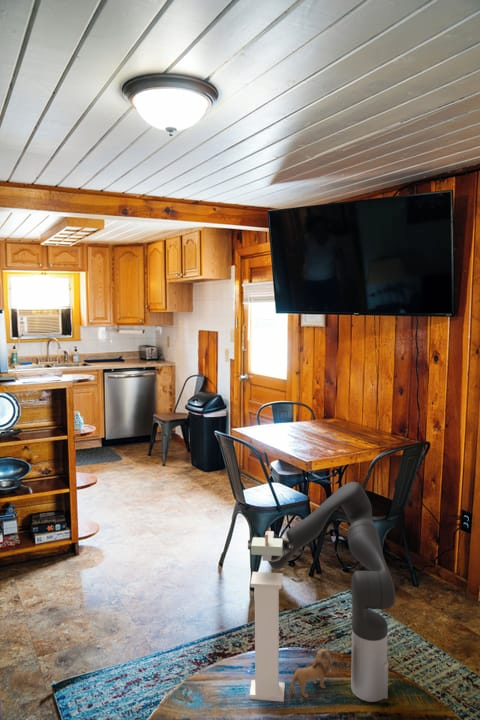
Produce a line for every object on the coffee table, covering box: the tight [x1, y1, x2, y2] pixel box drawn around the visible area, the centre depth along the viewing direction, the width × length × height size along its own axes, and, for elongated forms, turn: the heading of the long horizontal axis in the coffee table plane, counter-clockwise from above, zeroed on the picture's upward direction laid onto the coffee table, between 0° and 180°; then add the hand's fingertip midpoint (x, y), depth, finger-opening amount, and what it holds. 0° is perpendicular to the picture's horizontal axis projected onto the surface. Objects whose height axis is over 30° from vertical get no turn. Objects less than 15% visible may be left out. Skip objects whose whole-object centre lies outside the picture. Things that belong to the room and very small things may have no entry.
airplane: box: [250, 530, 284, 562], centre depth 149 cm, size 8×14×7 cm, turn 173°
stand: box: [249, 571, 286, 703], centre depth 144 cm, size 9×6×32 cm, turn 83°
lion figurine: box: [288, 647, 332, 701], centre depth 147 cm, size 15×5×9 cm, turn 129°
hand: (268, 543), depth 148 cm, fingers closed on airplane
